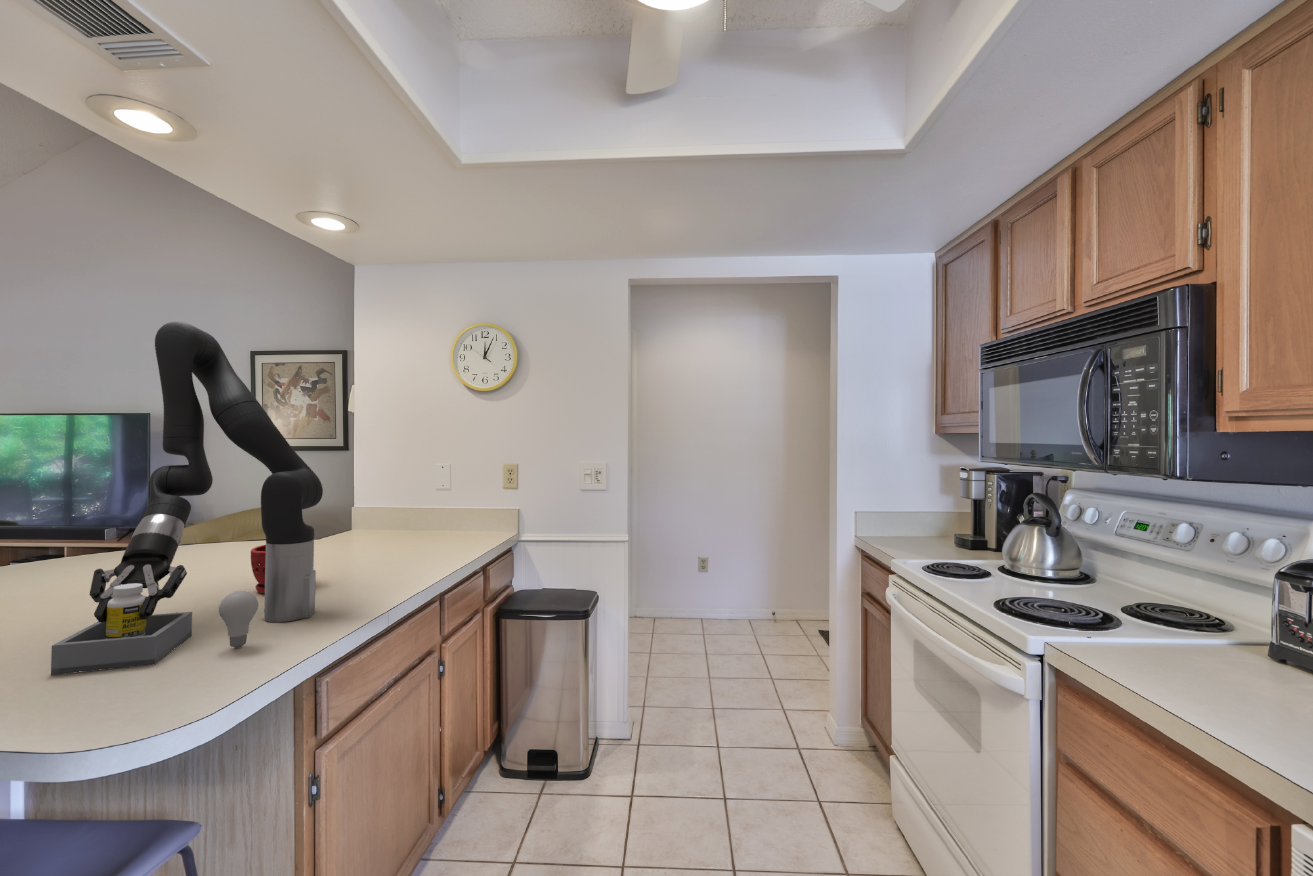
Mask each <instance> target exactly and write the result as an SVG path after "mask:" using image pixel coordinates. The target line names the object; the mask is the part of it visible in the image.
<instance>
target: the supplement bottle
mask: <svg viewBox="0 0 1313 876" xmlns="http://www.w3.org/2000/svg"><path fill="white" fill-rule="evenodd" d="M143 590H144V588H143V584H139V583H133V584H124V585H122V584H121V585H119V586H116V587H114V588H113V596H115V598H113V599H111V600H110V601H109V602H108V604H107V619H106V639H114V638H125V637H136V636H144V635H145V633H146V619H143V620H142V619H141V618H140V616H139V612H140V610H141V607H142V605H143V603H144V600H145V598H146V597H147V595H143V594H142V593H143Z"/></svg>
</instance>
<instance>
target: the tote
mask: <svg viewBox="0 0 1313 876" xmlns="http://www.w3.org/2000/svg"><path fill="white" fill-rule="evenodd" d="M192 628H193V611H184V612H172V613H171V612H170V613H160V614H157V613H156V614H152V615H151V616H148V619H146V633H145V635H144V636H136V637H125V638H114V639H106V622H101V623H100V622H99V621H98V620H97V621H96V622H94V623H93V624H91V625H88V626H87V627H85V628H82V629H81V630H78V631H77V632H75V633H73V634H71V635H69V636H68V637H65V638H64V639H62V640H60V641H58V642H56V643H54V644H52V645H51V654H50V655H51V656H50V657H51V658H50V659H51V660H50V661H51V662H50V675H51V676H56V675H57V676H58V675H66V674H67V675H68V674H75V673H74V672H77V673H80V672H79V671H86V672H93V671H92V670H96V671H100V670H99V669H106V670H110V669H109V668H115V669H123V667H124V668H132V666H135V667H142V666H143V667H144V666H151V665H152V666H153V664H154V665H156V664H157V663H159V662H160V661H161V660H162V658H165V657H166V656H168V655H169V654H170V653H172V652H173V651H174V650H175V649H174V648H176V647H177V646H178V647H180V646H181V645H182V644H183V643H185V642H186V641H187V640H189V639H190V638H191V637H192V634H193V632H192V631H193V629H192ZM188 638H189V639H188ZM184 641H185V642H184ZM180 644H181V645H180ZM178 647H177V648H178ZM177 648H176V649H177ZM172 650H173V651H172ZM171 651H172V652H171ZM169 652H170V653H169ZM167 654H168V655H167ZM159 660H160V661H159ZM158 661H159V662H158ZM130 666H131V667H130ZM65 673H66V674H65Z"/></svg>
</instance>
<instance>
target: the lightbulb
mask: <svg viewBox="0 0 1313 876" xmlns="http://www.w3.org/2000/svg"><path fill="white" fill-rule="evenodd" d="M258 608H259V600H258V598H257V596H256V595H255V594H254V593H253V592H250V591H246V590H237V591H233V592H231V593H229V594H228V595H226V596H225V597H224V598H223V599H222V600H221V602H220V604H219V607H218V613H219V617H220V618H221V620H222V621H223V623H224V624H225V626H226V629H227V635H228V638H229V646H230V647H231V648H234V649H240V648H242V647H243V646H245V645H246V644H247V639H248V638H247V636H248V635H247V634H248V633H249V631H250V624H251V622H252V619H253V618H254V617H255V615H256V613H257V611H258Z"/></svg>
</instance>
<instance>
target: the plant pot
mask: <svg viewBox="0 0 1313 876" xmlns="http://www.w3.org/2000/svg"><path fill="white" fill-rule="evenodd" d="M265 560H266V544H262V545H258V546H256V547H253V548H251V549H250V565H251V566H250V567H251V569H252V574H253V576H254V579H255V580H256V582H257V584H256V585H255V590H256V591H257V592H259V593H262V594H265Z"/></svg>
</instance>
